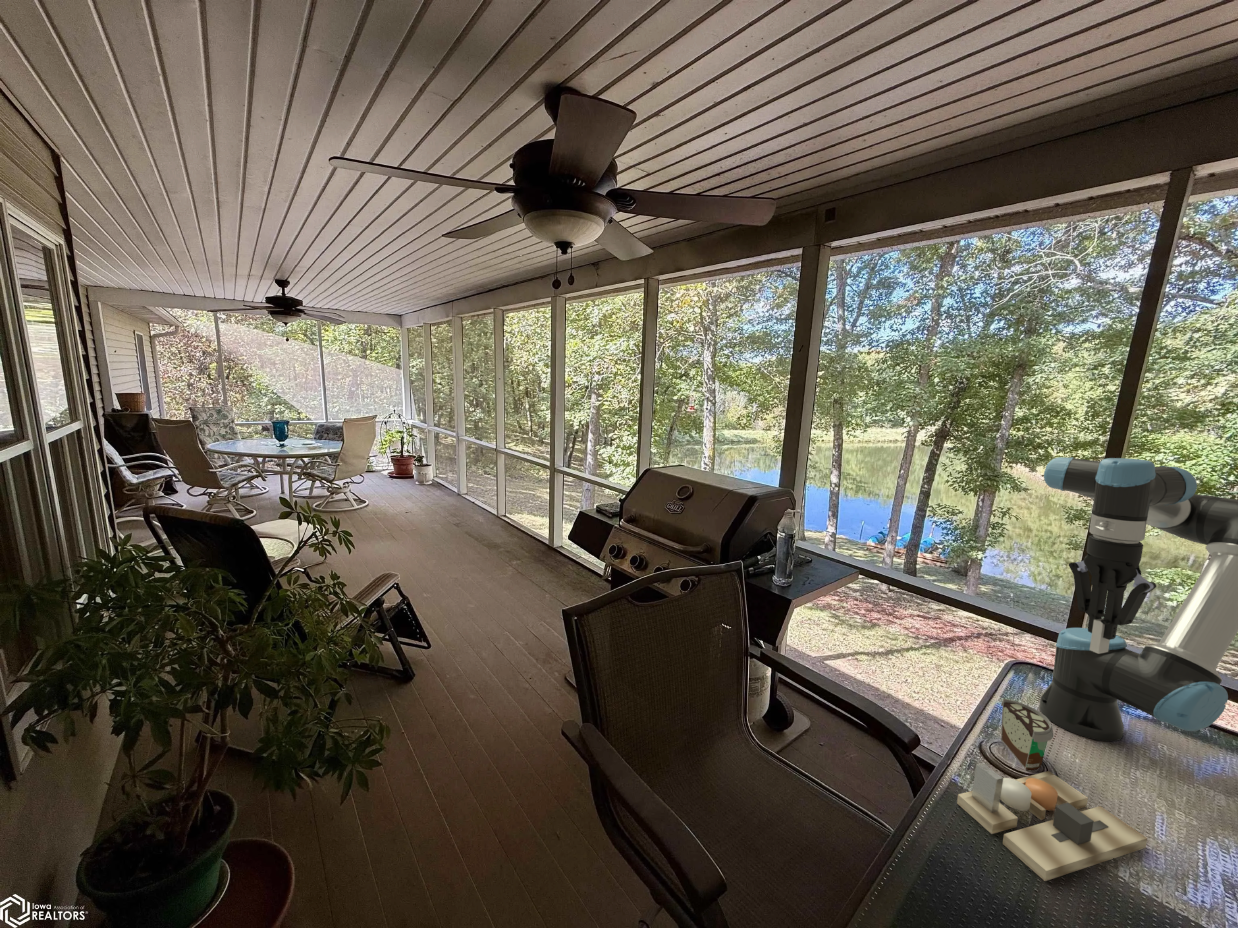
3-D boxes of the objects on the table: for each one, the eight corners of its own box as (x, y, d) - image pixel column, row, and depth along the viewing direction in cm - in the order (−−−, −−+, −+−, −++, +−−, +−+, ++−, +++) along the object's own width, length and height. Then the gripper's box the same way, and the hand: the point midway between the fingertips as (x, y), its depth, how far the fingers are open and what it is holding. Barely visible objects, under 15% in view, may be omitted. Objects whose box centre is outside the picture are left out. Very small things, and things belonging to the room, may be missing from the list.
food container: (1063, 779, 102) (1069, 736, 100) (1029, 775, 103) (1035, 732, 101) (1026, 739, 114) (1031, 700, 112) (997, 735, 115) (1001, 697, 113)
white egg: (1010, 788, 97) (1012, 775, 96) (1036, 807, 92) (1038, 794, 92) (991, 792, 96) (993, 780, 95) (1017, 813, 91) (1018, 799, 91)
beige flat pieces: (1047, 779, 102) (1048, 770, 101) (1145, 847, 86) (1147, 837, 86) (957, 803, 96) (958, 793, 96) (1044, 880, 80) (1046, 870, 80)
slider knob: (1064, 821, 89) (1067, 802, 89) (1090, 840, 85) (1093, 820, 85) (1052, 825, 88) (1055, 805, 88) (1078, 844, 85) (1081, 824, 84)
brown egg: (1036, 787, 99) (1037, 775, 98) (1062, 807, 94) (1064, 794, 94) (1018, 792, 98) (1019, 780, 97) (1043, 812, 93) (1045, 799, 93)
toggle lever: (977, 794, 96) (982, 762, 95) (997, 811, 92) (1003, 778, 91) (971, 795, 95) (976, 763, 94) (991, 812, 91) (996, 779, 90)
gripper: (1063, 530, 99) (1049, 637, 102) (1145, 549, 86) (1126, 671, 90) (1089, 527, 101) (1075, 633, 104) (1174, 546, 88) (1154, 665, 92)
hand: (1098, 650), depth 97 cm, fingers closed
